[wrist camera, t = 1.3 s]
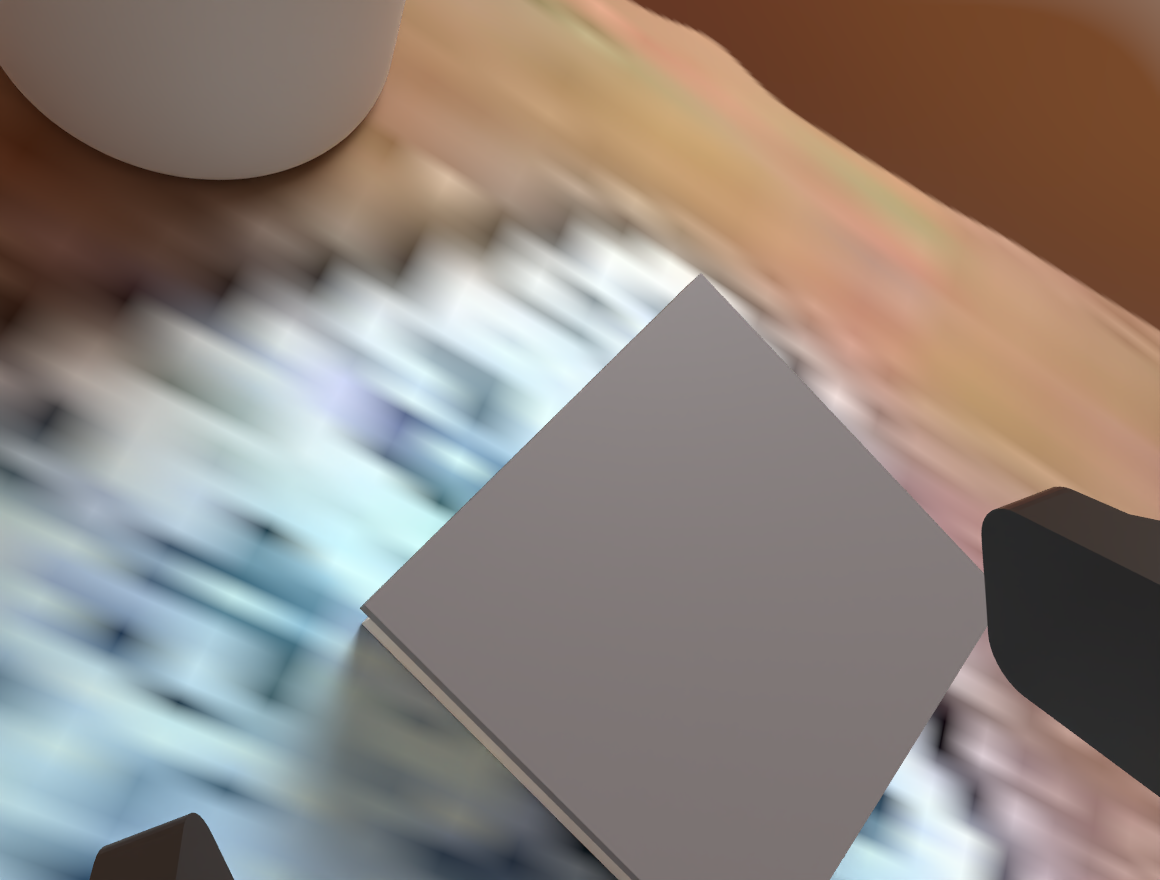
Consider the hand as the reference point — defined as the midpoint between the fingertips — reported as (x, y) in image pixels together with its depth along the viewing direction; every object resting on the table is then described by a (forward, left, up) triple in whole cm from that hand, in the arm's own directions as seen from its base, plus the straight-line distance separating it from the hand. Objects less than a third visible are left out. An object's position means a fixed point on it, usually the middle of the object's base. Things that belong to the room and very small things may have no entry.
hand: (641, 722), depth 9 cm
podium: (+4, +7, -20) cm, 21 cm away
